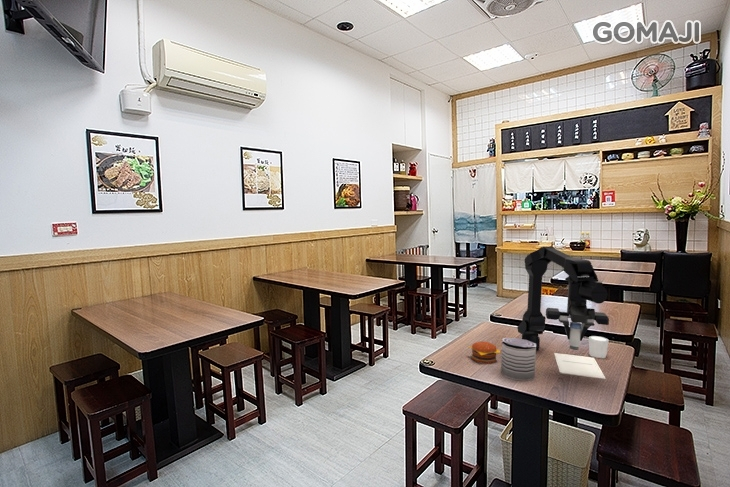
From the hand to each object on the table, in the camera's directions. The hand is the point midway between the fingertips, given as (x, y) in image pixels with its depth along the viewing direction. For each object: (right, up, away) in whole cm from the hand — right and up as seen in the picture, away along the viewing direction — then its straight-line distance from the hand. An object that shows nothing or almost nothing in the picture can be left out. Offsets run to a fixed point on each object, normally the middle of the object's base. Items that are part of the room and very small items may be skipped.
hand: (574, 340), depth 135 cm
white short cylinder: (+20, -11, +19) cm, 30 cm away
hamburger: (-27, -12, +15) cm, 33 cm away
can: (-19, -13, +2) cm, 23 cm away
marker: (0, -3, 0) cm, 3 cm away
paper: (+6, -12, +9) cm, 16 cm away
